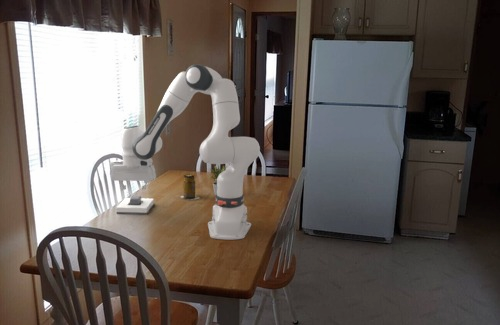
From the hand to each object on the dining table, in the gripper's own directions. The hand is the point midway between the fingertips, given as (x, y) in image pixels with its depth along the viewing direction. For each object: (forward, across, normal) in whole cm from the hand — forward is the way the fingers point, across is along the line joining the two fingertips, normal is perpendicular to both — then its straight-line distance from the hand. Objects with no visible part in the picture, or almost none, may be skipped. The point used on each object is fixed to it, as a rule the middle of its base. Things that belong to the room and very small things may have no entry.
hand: (134, 189), depth 208 cm
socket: (+10, 0, +2) cm, 10 cm away
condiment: (+10, +23, +20) cm, 32 cm away
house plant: (+10, +38, +25) cm, 47 cm away
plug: (+9, 0, +2) cm, 9 cm away
